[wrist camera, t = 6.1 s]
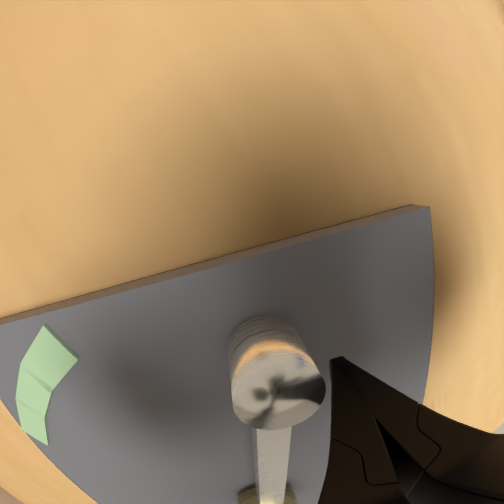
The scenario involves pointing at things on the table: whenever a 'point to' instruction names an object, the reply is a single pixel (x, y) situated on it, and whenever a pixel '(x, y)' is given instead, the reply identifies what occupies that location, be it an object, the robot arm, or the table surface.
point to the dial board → (215, 359)
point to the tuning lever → (272, 399)
